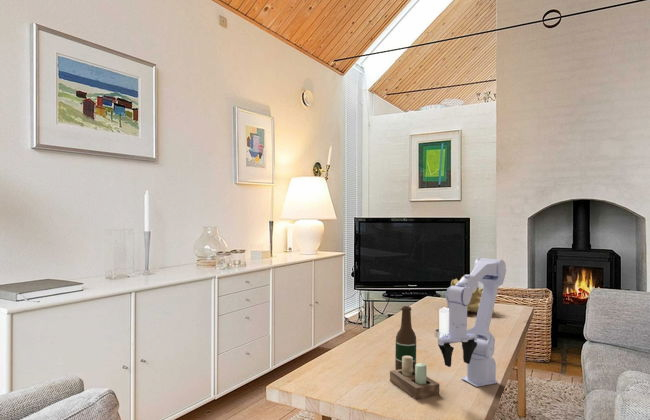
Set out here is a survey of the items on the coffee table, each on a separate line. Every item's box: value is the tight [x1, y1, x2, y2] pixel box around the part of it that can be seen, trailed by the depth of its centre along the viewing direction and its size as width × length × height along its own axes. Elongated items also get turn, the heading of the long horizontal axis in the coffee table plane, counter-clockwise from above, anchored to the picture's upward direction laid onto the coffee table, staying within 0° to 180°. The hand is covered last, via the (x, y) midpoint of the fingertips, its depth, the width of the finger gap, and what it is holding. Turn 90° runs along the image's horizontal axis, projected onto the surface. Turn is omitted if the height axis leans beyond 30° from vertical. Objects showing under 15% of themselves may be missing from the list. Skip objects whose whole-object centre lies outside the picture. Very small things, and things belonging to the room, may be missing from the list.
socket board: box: [389, 369, 440, 400], centre depth 152 cm, size 9×16×4 cm, turn 23°
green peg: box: [415, 362, 427, 385], centre depth 148 cm, size 4×4×9 cm
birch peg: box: [402, 356, 413, 377], centre depth 156 cm, size 4×4×9 cm
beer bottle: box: [394, 305, 417, 370], centre depth 167 cm, size 8×8×24 cm
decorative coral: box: [450, 275, 495, 314], centre depth 261 cm, size 26×22×25 cm
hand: (457, 364), depth 147 cm, fingers open, 7 cm apart
